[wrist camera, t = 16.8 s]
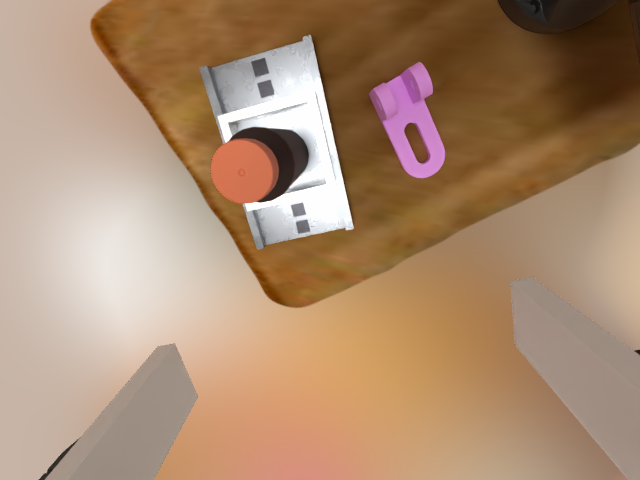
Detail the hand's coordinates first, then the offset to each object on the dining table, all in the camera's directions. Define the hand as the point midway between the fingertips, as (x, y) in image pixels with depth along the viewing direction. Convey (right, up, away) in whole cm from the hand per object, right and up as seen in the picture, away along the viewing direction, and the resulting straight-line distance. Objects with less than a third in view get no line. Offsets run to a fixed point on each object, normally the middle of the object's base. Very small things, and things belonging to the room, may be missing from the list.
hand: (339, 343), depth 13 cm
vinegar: (-6, +15, +31) cm, 35 cm away
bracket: (+11, +19, +30) cm, 37 cm away
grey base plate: (-6, +16, +32) cm, 36 cm away
